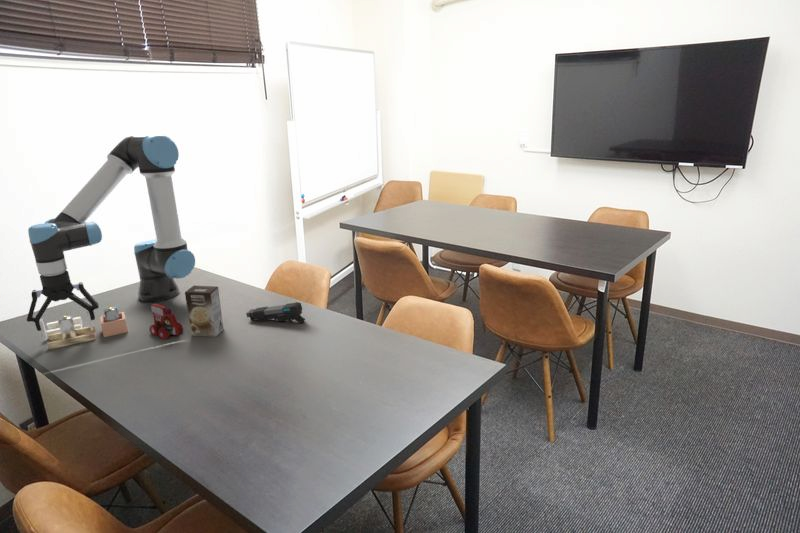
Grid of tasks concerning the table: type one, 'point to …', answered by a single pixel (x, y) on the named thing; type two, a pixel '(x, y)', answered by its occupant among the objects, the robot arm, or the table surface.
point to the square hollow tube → (114, 325)
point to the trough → (82, 336)
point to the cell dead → (111, 314)
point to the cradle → (53, 330)
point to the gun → (278, 313)
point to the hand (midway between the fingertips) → (69, 333)
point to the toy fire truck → (164, 322)
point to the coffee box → (204, 310)
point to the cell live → (67, 327)
